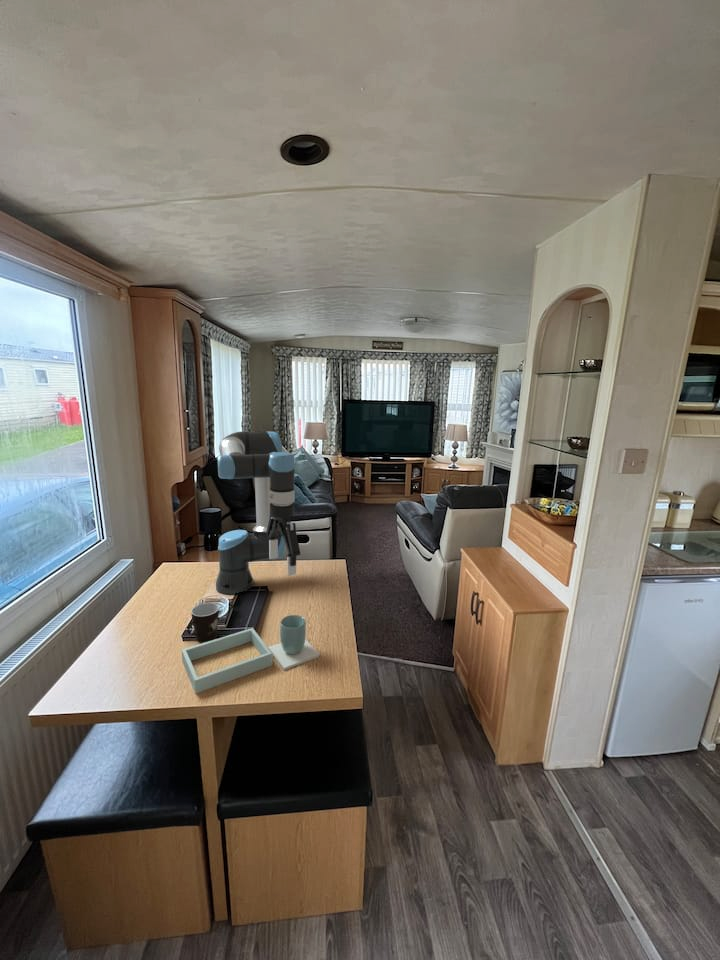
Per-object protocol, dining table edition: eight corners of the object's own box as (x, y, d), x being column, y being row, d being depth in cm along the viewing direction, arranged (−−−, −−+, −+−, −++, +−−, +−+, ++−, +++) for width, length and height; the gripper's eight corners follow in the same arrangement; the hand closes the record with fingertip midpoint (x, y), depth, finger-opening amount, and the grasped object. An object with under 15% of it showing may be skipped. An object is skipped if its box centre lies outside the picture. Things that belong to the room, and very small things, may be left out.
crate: (182, 661, 122) (181, 649, 122) (253, 638, 135) (252, 627, 134) (195, 693, 110) (194, 680, 109) (272, 665, 122) (272, 653, 121)
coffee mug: (213, 626, 141) (212, 600, 139) (224, 637, 135) (223, 609, 133) (179, 639, 133) (177, 611, 131) (189, 651, 127) (188, 622, 125)
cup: (276, 655, 125) (276, 626, 123) (285, 641, 133) (285, 613, 131) (300, 659, 124) (300, 629, 122) (308, 644, 131) (308, 616, 129)
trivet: (268, 649, 130) (268, 647, 129) (302, 637, 136) (302, 635, 136) (284, 670, 120) (284, 667, 120) (319, 656, 127) (319, 654, 127)
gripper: (255, 494, 133) (256, 554, 138) (288, 516, 114) (288, 585, 119) (276, 491, 138) (277, 549, 143) (312, 512, 118) (311, 578, 123)
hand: (282, 565), depth 131 cm, fingers open, 13 cm apart
